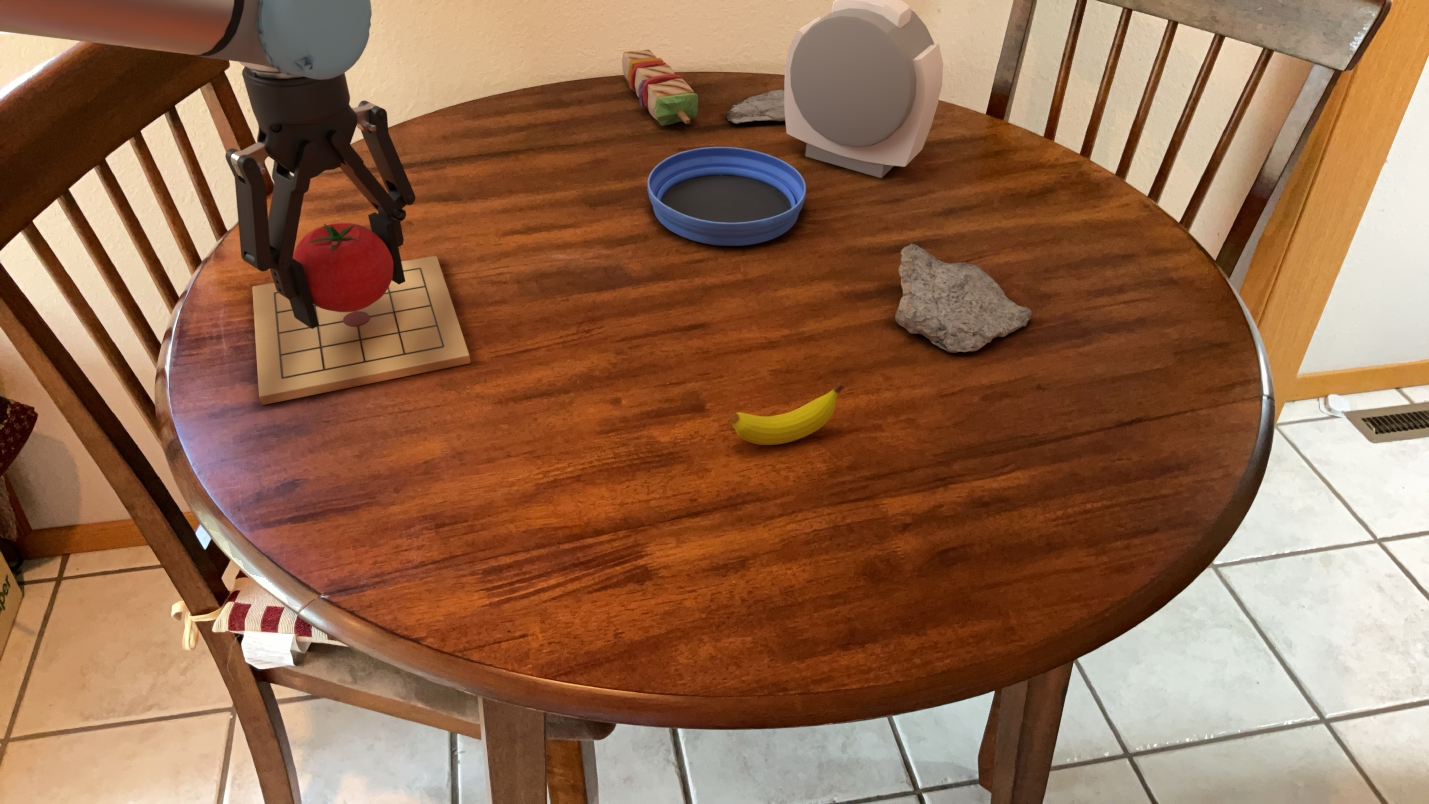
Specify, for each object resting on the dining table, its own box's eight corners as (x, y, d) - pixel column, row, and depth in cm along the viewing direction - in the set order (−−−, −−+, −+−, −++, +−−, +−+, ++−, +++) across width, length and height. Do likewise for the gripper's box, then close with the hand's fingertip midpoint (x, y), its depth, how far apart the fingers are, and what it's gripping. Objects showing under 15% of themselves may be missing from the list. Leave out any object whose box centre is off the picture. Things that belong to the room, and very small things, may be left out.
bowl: (619, 226, 109) (618, 197, 107) (690, 161, 122) (690, 134, 120) (767, 267, 104) (770, 238, 101) (825, 194, 116) (828, 167, 114)
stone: (731, 128, 129) (731, 122, 129) (715, 98, 136) (715, 93, 136) (880, 118, 133) (881, 112, 133) (857, 89, 140) (858, 84, 140)
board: (261, 405, 84) (258, 396, 84) (254, 294, 97) (251, 285, 96) (470, 363, 90) (469, 354, 89) (438, 263, 102) (436, 254, 102)
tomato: (371, 335, 87) (353, 259, 82) (282, 319, 89) (258, 243, 84) (416, 282, 94) (402, 209, 89) (333, 268, 95) (314, 195, 90)
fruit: (832, 418, 85) (838, 374, 82) (842, 434, 84) (850, 389, 81) (723, 443, 83) (725, 398, 79) (732, 460, 81) (735, 414, 78)
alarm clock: (929, 165, 123) (961, 0, 110) (904, 191, 118) (934, 22, 104) (802, 129, 130) (818, -30, 117) (773, 153, 124) (785, -11, 111)
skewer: (615, 81, 140) (614, 47, 137) (657, 76, 142) (657, 42, 139) (663, 143, 126) (663, 105, 122) (710, 136, 127) (711, 99, 124)
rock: (941, 332, 89) (866, 240, 99) (926, 367, 92) (854, 274, 101) (1056, 323, 94) (974, 236, 104) (1038, 356, 97) (960, 268, 107)
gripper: (185, 117, 68) (270, 369, 83) (431, 36, 81) (467, 266, 96) (131, 88, 72) (222, 335, 86) (375, 14, 85) (418, 240, 99)
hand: (351, 298), depth 91 cm, fingers closed on tomato, 9 cm apart
